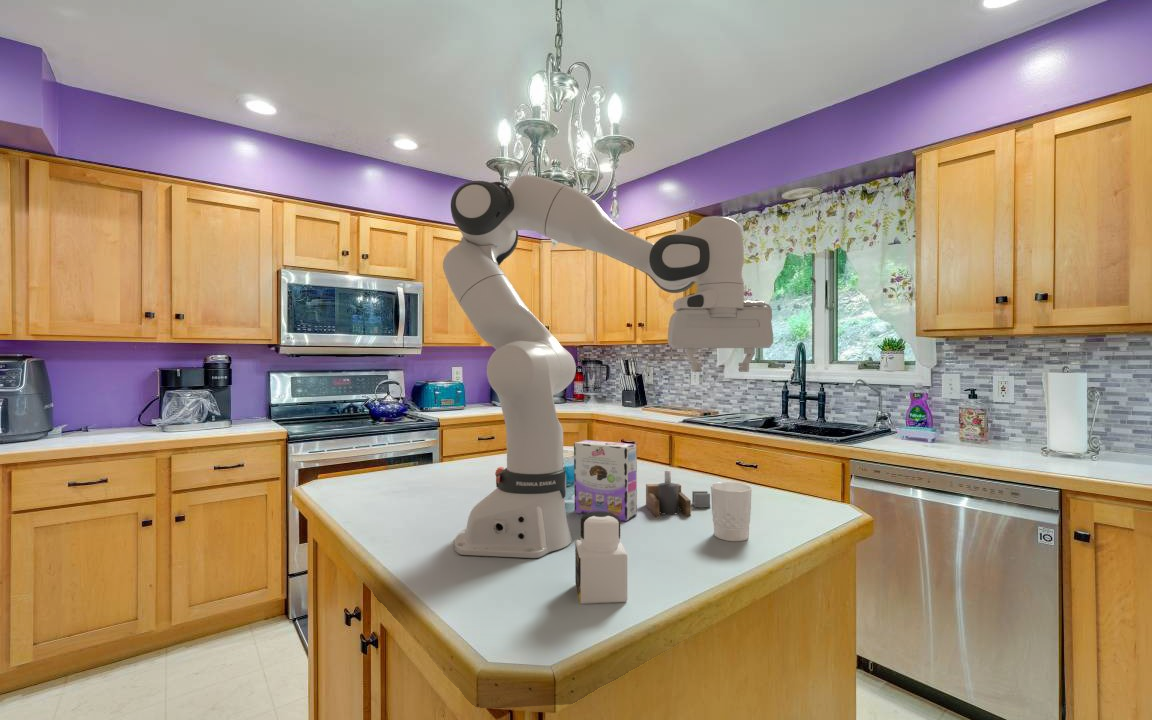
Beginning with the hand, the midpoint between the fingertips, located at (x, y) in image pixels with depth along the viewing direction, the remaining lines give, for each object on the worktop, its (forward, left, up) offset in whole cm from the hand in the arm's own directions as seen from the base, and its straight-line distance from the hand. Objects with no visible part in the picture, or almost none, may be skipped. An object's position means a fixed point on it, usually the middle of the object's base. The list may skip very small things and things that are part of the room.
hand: (720, 371), depth 104 cm
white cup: (+3, +3, -33) cm, 34 cm away
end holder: (-5, +21, -33) cm, 39 cm away
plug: (-5, +21, -33) cm, 39 cm away
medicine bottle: (-26, -21, -33) cm, 47 cm away
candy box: (-20, +20, -33) cm, 44 cm away
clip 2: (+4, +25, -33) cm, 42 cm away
